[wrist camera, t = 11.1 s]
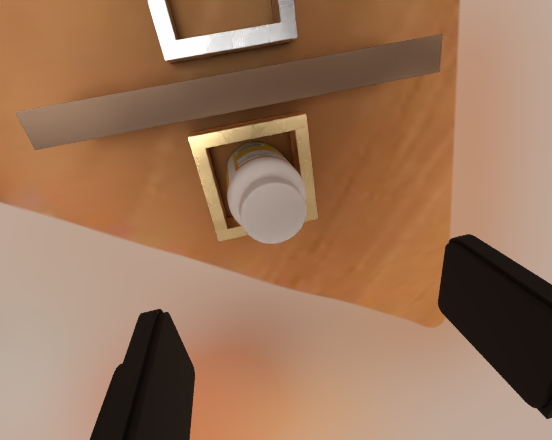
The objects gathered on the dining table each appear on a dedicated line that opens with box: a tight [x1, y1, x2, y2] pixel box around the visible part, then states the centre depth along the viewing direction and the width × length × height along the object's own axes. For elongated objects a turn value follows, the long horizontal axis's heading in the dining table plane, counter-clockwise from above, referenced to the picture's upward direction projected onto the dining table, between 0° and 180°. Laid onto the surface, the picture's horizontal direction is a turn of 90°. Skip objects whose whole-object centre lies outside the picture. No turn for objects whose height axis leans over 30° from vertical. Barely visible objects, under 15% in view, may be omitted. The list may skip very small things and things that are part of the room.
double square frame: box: [147, 0, 318, 242], centre depth 22 cm, size 23×9×2 cm, turn 9°
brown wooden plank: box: [15, 34, 443, 150], centre depth 20 cm, size 2×24×7 cm, turn 99°
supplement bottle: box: [226, 142, 306, 244], centre depth 21 cm, size 5×5×10 cm
